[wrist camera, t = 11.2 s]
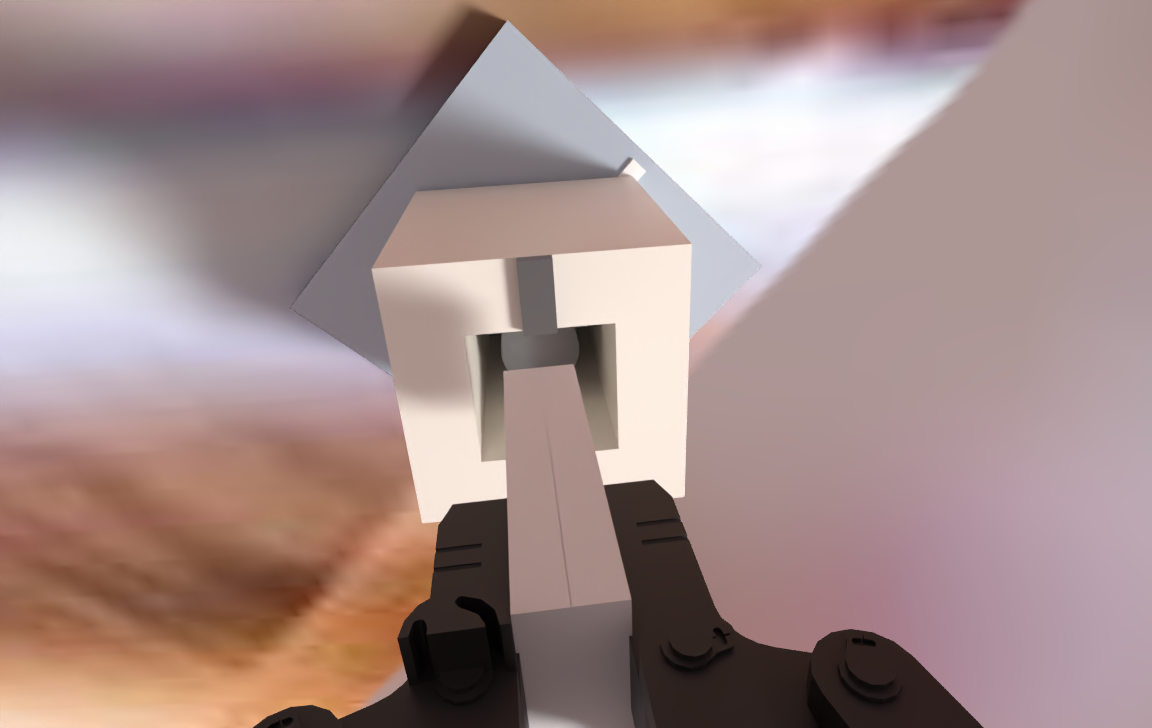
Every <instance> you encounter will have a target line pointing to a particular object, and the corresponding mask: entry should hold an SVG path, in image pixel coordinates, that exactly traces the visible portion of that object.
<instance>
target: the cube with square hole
mask: <svg viewBox="0 0 1152 728" xmlns="http://www.w3.org/2000/svg"><path fill="white" fill-rule="evenodd" d="M691 259H692V243H691V242H690V241H689V240H688V239H687V238H686V237H685V235H684V234H683V233H682V232H681V231H680V230H679V229H678V227H677V226H676V225H675V224H674V223H673V222H672V221H671V219H670V218H669V217H668V216H667V215H666V214H665V213H664V211H663V210H662V209H661V208H660V207H659V206H658V205H657V203H656V202H655V201H654V200H653V199H652V198H651V197H650V195H649V194H648V193H647V192H646V191H645V190H644V189H643V187H642V186H641V185H640V184H639V183H638V182H637V181H636V179H635V178H634V177H633V176H626V177H612V178H598V179H584V180H570V181H556V182H542V183H527V184H513V185H499V186H485V187H471V188H457V189H443V190H429V191H416V192H415V194H414V196H413V198H412V199H411V201H410V203H409V204H408V206H407V208H406V210H405V211H404V213H403V215H402V217H401V218H400V220H399V222H398V224H397V225H396V227H395V229H394V230H393V232H392V234H391V236H390V237H389V239H388V241H387V243H386V244H385V246H384V248H383V250H382V251H381V253H380V255H379V256H378V258H377V260H376V262H375V263H374V265H373V267H372V274H373V279H374V284H375V289H376V294H377V299H378V304H379V309H380V314H381V319H382V324H383V329H384V334H385V339H386V344H387V349H388V354H389V359H390V364H391V369H392V374H393V379H394V384H395V389H396V394H397V399H398V404H399V409H400V414H401V419H402V424H403V429H404V434H405V439H406V444H407V449H408V454H409V459H410V464H411V469H412V474H413V479H414V484H415V489H416V494H417V499H418V504H419V509H420V514H421V519H422V523H430V522H439V521H442V519H443V518H444V517H445V515H446V514H447V512H448V511H449V509H450V508H451V506H452V505H453V504H460V503H469V502H477V501H486V500H495V499H504V498H507V480H506V446H505V412H504V378H503V371H508V370H507V368H506V367H505V365H504V362H503V359H502V352H501V335H495V336H489V334H493V333H505V332H517V331H523V336H531V335H543V334H555V333H558V329H557V328H564V327H576V326H586V328H578V329H575V331H576V335H577V339H578V342H579V356H578V360H577V362H576V365H575V366H574V367H575V371H576V375H577V379H578V383H579V387H580V391H581V395H582V399H583V403H584V408H585V412H586V416H587V420H588V424H589V428H590V432H591V436H592V440H593V444H594V448H595V452H596V457H597V461H598V465H599V469H600V473H601V477H602V481H603V485H609V484H618V483H626V482H635V481H644V480H655V481H656V482H657V483H658V484H659V485H660V486H661V487H662V488H663V489H664V490H666V491H667V492H668V493H669V494H670V495H671V496H672V498H676V497H684V496H685V462H686V427H687V395H688V361H689V327H690V293H691Z"/></svg>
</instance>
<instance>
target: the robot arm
mask: <svg viewBox="0 0 1152 728" xmlns="http://www.w3.org/2000/svg"><path fill="white" fill-rule="evenodd" d="M503 378H504V412H505V446H506V480H507V498H504V499H495V500H486V501H477V502H469V503H460V504H453V505H452V506H451V508H450V509H449V511H448V512H447V514H446V515H445V517H444V518H443V519H442V521H441V522H440V524H439V525H438V533H437V542H436V553H435V560H434V573H433V578H432V587H431V595H430V599H428V600H426V601H425V602H423V603H421V604H420V605H418V606H417V607H416V608H415V609H414V611H413V612H412V613H411V614H410V615H409V616H408V617H407V618H406V619H405V621H404V623H403V625H402V628H401V630H400V633H399V636H398V638H397V639H398V643H399V647H400V651H401V655H402V658H403V662H404V666H405V670H406V674H407V678H408V680H407V681H406V682H405V683H404V684H403V685H402V686H401V687H399V688H398V689H397V690H396V691H394V692H393V693H392V694H391V695H389V696H388V697H386V698H384V699H382V700H380V701H378V702H376V703H375V704H373V705H370V706H368V707H366V708H363V709H361V710H359V711H356V712H354V713H352V714H350V715H347V716H345V717H343V718H340V719H337V718H336V717H335V716H334V715H333V714H332V712H331V711H330V710H326V709H323V708H320V707H317V706H313V705H307V706H297V707H290V708H287V709H285V710H282V711H280V712H278V713H275V714H273V715H270V716H268V717H266V718H265V719H264V720H262V721H261V722H260V723H258V724H257V725H256V726H254V727H253V728H983V727H982V726H981V725H980V724H979V722H978V721H976V719H974V717H973V716H972V715H971V714H969V712H968V711H966V710H965V708H964V707H963V706H962V705H961V704H960V703H959V702H958V701H957V700H956V699H955V698H954V697H953V696H952V695H951V694H950V693H949V692H948V691H947V690H946V689H944V687H943V686H942V685H941V684H940V683H939V682H938V681H937V680H936V679H935V678H934V677H933V676H932V675H931V674H930V673H929V672H928V671H927V670H926V669H925V668H924V667H923V666H922V665H921V664H920V663H919V662H918V661H917V660H916V659H915V658H914V657H913V656H912V655H911V654H909V653H908V652H906V651H905V650H904V649H903V648H901V647H900V646H899V645H898V644H896V643H895V642H894V641H891V640H889V639H887V638H884V637H882V636H880V635H877V634H875V633H873V632H866V631H860V630H853V629H849V630H843V631H837V632H831V633H830V634H828V635H827V636H826V637H824V638H822V639H821V640H819V641H818V642H817V644H816V646H815V648H814V650H813V652H812V653H808V652H802V651H796V650H789V649H783V648H776V647H771V646H767V645H763V644H759V643H756V642H754V641H752V640H750V639H748V638H745V637H743V636H742V635H740V634H739V633H737V632H736V631H735V630H734V629H733V627H732V626H731V625H730V624H729V623H728V622H726V621H724V620H723V619H722V618H721V617H720V615H719V613H718V611H717V609H716V608H715V606H714V603H713V601H712V598H711V596H710V593H709V591H708V588H707V585H706V583H705V580H704V578H703V575H702V572H701V570H700V568H699V565H698V562H697V560H696V557H695V555H694V552H693V549H692V547H691V544H690V542H689V540H688V539H687V534H686V531H685V529H684V526H683V524H682V522H681V520H680V516H679V513H678V511H677V508H676V506H675V503H674V500H673V498H672V496H671V495H670V494H669V493H668V492H667V491H666V490H664V489H663V488H662V487H661V486H660V485H659V484H658V483H657V482H656V481H655V480H644V481H635V482H626V483H618V484H609V485H603V481H602V477H601V473H600V469H599V465H598V461H597V457H596V452H595V448H594V444H593V440H592V436H591V432H590V428H589V424H588V420H587V416H586V412H585V408H584V403H583V399H582V395H581V391H580V387H579V383H578V379H577V375H576V371H575V367H574V364H569V365H559V366H549V367H539V368H529V369H519V370H509V371H503Z"/></svg>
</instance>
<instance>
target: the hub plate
mask: <svg viewBox="0 0 1152 728" xmlns="http://www.w3.org/2000/svg"><path fill="white" fill-rule="evenodd" d="M626 176H633V177H634V178H635V179H636V181H637V182H638V183H639V184H640V185H641V186H642V187H643V189H644V190H645V191H646V192H647V193H648V194H649V195H650V197H651V198H652V199H653V200H654V201H655V202H656V203H657V205H658V206H659V207H660V208H661V209H662V210H663V211H664V213H665V214H666V215H667V216H668V217H669V218H670V219H671V221H672V222H673V223H674V224H675V225H676V226H677V227H678V229H679V230H680V231H681V232H682V233H683V234H684V235H685V237H686V238H687V239H688V240H689V241H690V242H691V243H692V259H691V293H690V327H689V339H690V338H691V337H692V336H693V335H694V334H695V333H696V332H697V331H698V330H699V329H700V328H701V327H702V326H703V325H704V324H705V323H706V322H707V321H708V320H709V319H710V318H711V317H712V316H713V315H714V314H715V313H716V312H717V311H718V310H719V309H720V308H721V307H722V306H723V305H724V304H725V303H726V302H727V301H728V300H729V299H730V298H731V297H732V296H733V295H734V294H735V293H736V292H737V291H738V290H739V289H740V288H741V287H742V286H743V285H744V284H745V283H746V282H747V281H748V280H749V279H750V278H751V277H752V276H753V275H754V274H755V273H756V272H757V271H758V270H759V269H760V268H761V267H762V266H761V265H760V264H759V263H758V262H757V261H756V260H755V259H754V258H753V257H752V256H751V255H750V254H749V253H748V252H747V251H746V250H745V249H744V248H743V247H742V246H741V245H740V244H739V243H738V242H737V241H735V240H734V239H733V238H732V237H731V236H730V235H729V234H728V233H727V232H726V231H725V230H724V229H723V228H722V227H721V226H720V225H719V224H718V223H717V222H716V221H715V220H714V219H713V218H712V217H711V216H710V215H709V214H708V213H707V212H705V211H704V210H703V209H702V208H701V207H700V206H699V205H698V204H697V203H696V202H695V201H694V200H693V199H692V198H691V197H690V196H689V195H688V194H687V193H686V192H685V191H684V190H683V189H682V188H681V187H680V186H679V185H678V184H676V183H675V182H674V181H673V180H672V179H671V178H670V177H669V176H668V175H667V174H666V173H665V172H664V171H663V170H662V169H661V168H660V167H659V166H658V165H657V164H656V163H655V162H654V161H653V160H652V159H651V158H650V157H649V156H648V155H646V154H645V153H644V152H643V151H642V150H641V149H640V148H639V147H638V146H637V145H636V144H635V143H634V142H633V141H632V140H631V139H630V138H629V137H628V136H627V135H626V134H625V133H624V132H623V131H622V130H621V129H620V128H619V127H617V126H616V125H615V124H614V123H613V122H612V121H611V120H610V119H609V118H608V117H607V116H606V115H605V114H604V113H603V112H602V111H601V110H600V109H599V108H598V107H597V106H596V105H595V104H594V103H593V102H592V101H591V100H590V99H589V98H587V97H586V96H585V95H584V94H583V93H582V92H581V91H580V90H579V89H578V88H577V87H576V86H575V85H574V84H573V83H572V82H571V81H570V80H569V79H568V78H567V77H566V76H565V75H564V74H563V73H562V72H561V71H560V70H559V69H557V68H556V67H555V66H554V65H553V64H552V63H551V62H550V61H549V60H548V59H547V58H546V57H545V56H544V55H543V54H542V53H541V52H540V51H539V50H538V49H537V48H536V47H535V46H534V45H533V44H532V43H531V42H530V41H528V40H527V39H526V38H525V37H524V36H523V35H522V34H521V33H520V32H519V31H518V30H517V29H516V28H515V27H514V26H513V25H512V24H511V23H510V22H509V21H508V20H507V22H506V23H505V24H504V26H503V27H502V28H501V30H500V31H499V32H498V33H497V35H496V36H495V37H494V39H493V40H492V41H491V43H490V44H489V45H488V47H487V48H486V49H485V51H484V52H483V53H482V55H481V56H480V57H479V59H478V60H477V61H476V63H475V64H474V65H473V67H472V68H471V69H470V71H469V72H468V73H467V74H466V76H465V77H464V78H463V80H462V81H461V82H460V84H459V85H458V86H457V88H456V89H455V90H454V92H453V93H452V94H451V96H450V97H449V98H448V100H447V101H446V102H445V104H444V105H443V106H442V108H441V109H440V110H439V111H438V113H437V114H436V115H435V117H434V118H433V119H432V121H431V122H430V123H429V125H428V126H427V127H426V129H425V130H424V131H423V133H422V134H421V135H420V137H419V138H418V139H417V141H416V142H415V143H414V145H413V146H412V147H411V148H410V150H409V151H408V152H407V154H406V155H405V156H404V158H403V159H402V160H401V162H400V163H399V164H398V166H397V167H396V168H395V170H394V171H393V172H392V174H391V175H390V176H389V178H388V179H387V180H386V182H385V183H384V184H383V185H382V187H381V188H380V189H379V191H378V192H377V193H376V195H375V196H374V197H373V199H372V200H371V201H370V203H369V204H368V205H367V207H366V208H365V209H364V211H363V212H362V213H361V215H360V216H359V217H358V219H357V220H356V221H355V222H354V224H353V225H352V226H351V228H350V229H349V230H348V232H347V233H346V234H345V236H344V237H343V238H342V240H341V241H340V242H339V244H338V245H337V246H336V248H335V249H334V250H333V252H332V253H331V254H330V256H329V257H328V258H327V260H326V261H325V262H324V263H323V265H322V266H321V267H320V269H319V270H318V271H317V273H316V274H315V275H314V277H313V278H312V279H311V281H310V282H309V283H308V285H307V286H306V287H305V289H304V290H303V291H302V293H301V294H300V295H299V297H298V298H297V299H296V300H295V302H294V303H293V304H292V306H291V307H290V309H292V310H293V311H295V312H296V313H298V314H299V315H301V316H303V317H304V318H306V319H307V320H309V321H310V322H312V323H313V324H315V325H316V326H318V327H319V328H321V329H322V330H324V331H325V332H327V333H328V334H330V335H331V336H333V337H334V338H336V339H337V340H339V341H340V342H342V343H343V344H345V345H346V346H348V347H349V348H351V349H352V350H354V351H355V352H357V353H358V354H360V355H361V356H363V357H364V358H366V359H367V360H369V361H370V362H372V363H373V364H375V365H376V366H378V367H379V368H381V369H382V370H384V371H385V372H387V373H388V374H390V375H391V376H393V374H392V369H391V364H390V359H389V354H388V349H387V344H386V339H385V334H384V329H383V324H382V319H381V314H380V309H379V304H378V299H377V294H376V289H375V284H374V279H373V274H372V267H373V265H374V263H375V262H376V260H377V258H378V256H379V255H380V253H381V251H382V250H383V248H384V246H385V244H386V243H387V241H388V239H389V237H390V236H391V234H392V232H393V230H394V229H395V227H396V225H397V224H398V222H399V220H400V218H401V217H402V215H403V213H404V211H405V210H406V208H407V206H408V204H409V203H410V201H411V199H412V198H413V196H414V194H415V192H416V191H429V190H443V189H457V188H471V187H485V186H499V185H513V184H527V183H542V182H556V181H570V180H584V179H598V178H612V177H626ZM578 328H586V326H576V327H564V328H557V329H558V333H555V334H543V335H531V336H523V331H517V332H505V333H493V334H489V336H495V335H501V352H502V359H503V362H504V365H505V367H506V368H507V370H508V371H509V370H519V369H529V368H539V367H549V366H559V365H569V364H574V366H575V365H576V362H577V360H578V356H579V342H578V339H577V335H576V331H575V329H578Z"/></svg>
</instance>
